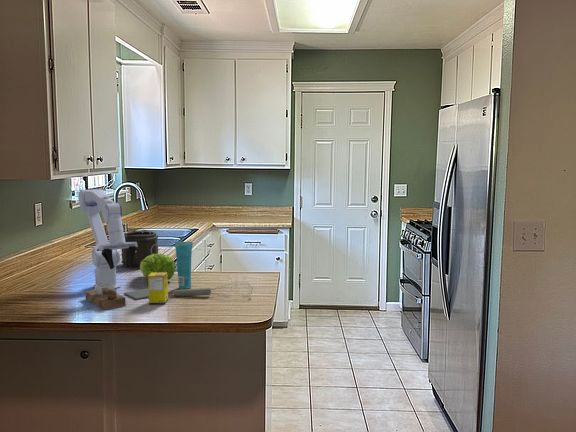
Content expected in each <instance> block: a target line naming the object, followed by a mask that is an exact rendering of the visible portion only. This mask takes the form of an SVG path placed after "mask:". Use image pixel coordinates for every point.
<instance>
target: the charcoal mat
mask: <svg viewBox="0 0 576 432" xmlns="http://www.w3.org/2000/svg"><path fill="white" fill-rule="evenodd" d="M123 294H124V295H125V296H127V297H129V298H131V299H132V300H136V301H138V300H139V301H140V300H143V299H144V300H145V299H149V290H148V288H143V289H137V290H131V291H125V292H124V293H123Z"/></svg>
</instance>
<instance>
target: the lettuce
mask: <svg viewBox="0 0 576 432" xmlns="http://www.w3.org/2000/svg"><path fill="white" fill-rule="evenodd" d="M139 269H140V272H141V274H142V275H143V276H144V277H145V278H146V279H147V280H148V275H149V274H150V273H151V272H167V278H168V281H169V280H170V279H172V278H173V276H175V271H176V263H175V260H174V259H173V258H172V257H171V256H167V255H166V254H163V253H158V254H152V255H150V256H147V257H146V258H145V259H144V260H142V261H141V264H140V268H139Z"/></svg>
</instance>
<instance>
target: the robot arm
mask: <svg viewBox="0 0 576 432" xmlns="http://www.w3.org/2000/svg"><path fill="white" fill-rule="evenodd" d="M77 194H78V196H77V197H78V204H79V207H80V210H81V212H83V213H85V214H86V217H87V219H88V222H89V226H90V228H91V232H92V236H93V239H94V242H95V245H94V246H93V248H92V249H91V259H92V264H93V266H95V270H94V280H95V281H94V282H95V284H100V283H106V282H107V283H109V284H111V285H113V286H114V289H119V288H121V285H119V284H118V283H117V267H118V264H119V263H120V261H121V252H120V251H119V250H121V249H125V248H128V249H127V251H126V253H127V256H128V260H129V266H130V267H132V266H133V262H134V255H135V251H136V247H138V245H137V242H125V236H124V234H125V232H124V227H123V220H122V216H123V206H122V204H121V202H115V201H113V200H112V199H111V198H110V197H109V196H108V195H106V193H105V190H104V189H103V188H99V189H80V190H79V191H78V193H77ZM100 212H102V213H101V214H102V217H103V219H104V223H105V224H106V228H107V233H106V230H105V227H104V224H103V221H102V218H101V214H100ZM107 235H108V237H107ZM95 284H93V287H94V288H95Z"/></svg>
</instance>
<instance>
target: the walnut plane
mask: <svg viewBox="0 0 576 432" xmlns="http://www.w3.org/2000/svg"><path fill="white" fill-rule="evenodd" d="M84 294H85V300H87V301H88V302H90V303H91V304H93V305H95V306H96V307H98V308H100V309H101V310H105V311H106V310H111V309H116V308H122V307H125V306H126V305H127V304H126V297H125V296H123V295H121V294H119V293H117V288H114V289H110V290H108V297H101V296H99V295H97V294H95V289H93V290H86V291H85V293H84Z"/></svg>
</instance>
